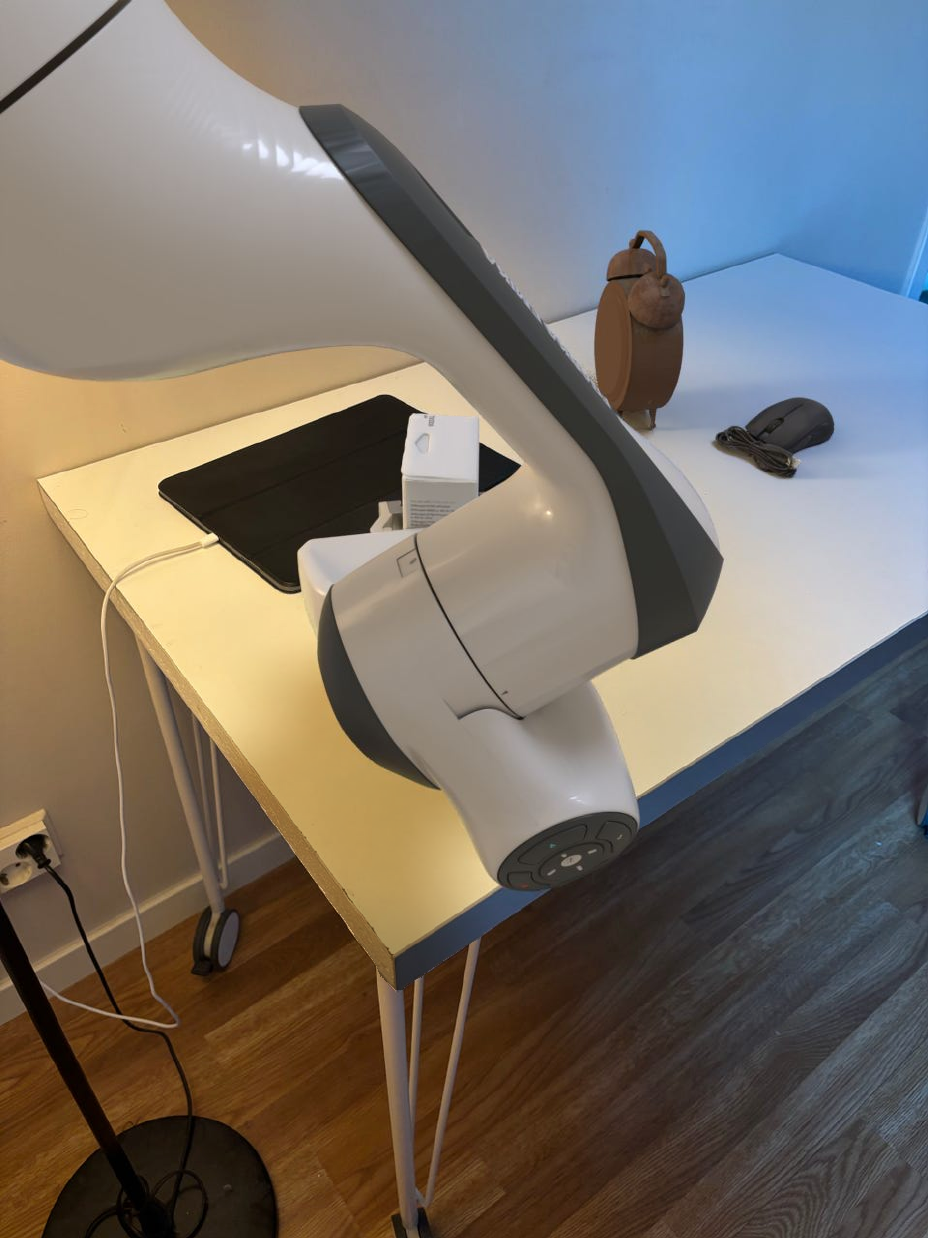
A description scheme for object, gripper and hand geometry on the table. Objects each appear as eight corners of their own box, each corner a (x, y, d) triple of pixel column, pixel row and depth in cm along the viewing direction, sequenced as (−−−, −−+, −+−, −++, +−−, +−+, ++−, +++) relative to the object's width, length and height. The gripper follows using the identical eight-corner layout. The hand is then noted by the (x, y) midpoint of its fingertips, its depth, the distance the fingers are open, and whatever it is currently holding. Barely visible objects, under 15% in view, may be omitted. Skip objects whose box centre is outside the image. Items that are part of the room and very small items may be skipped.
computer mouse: (859, 439, 108) (870, 408, 105) (786, 483, 100) (795, 451, 98) (784, 405, 113) (792, 375, 111) (709, 444, 106) (716, 413, 103)
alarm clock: (677, 440, 106) (713, 260, 93) (614, 443, 105) (642, 262, 92) (639, 380, 117) (667, 211, 104) (582, 382, 116) (603, 212, 103)
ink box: (473, 626, 66) (479, 480, 58) (401, 623, 66) (399, 477, 58) (475, 552, 72) (481, 412, 65) (410, 550, 72) (408, 410, 65)
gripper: (663, 571, 55) (587, 450, 65) (308, 615, 51) (285, 479, 61) (647, 652, 59) (577, 526, 69) (316, 698, 55) (294, 557, 65)
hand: (438, 504), depth 65 cm, fingers closed on ink box, 5 cm apart
